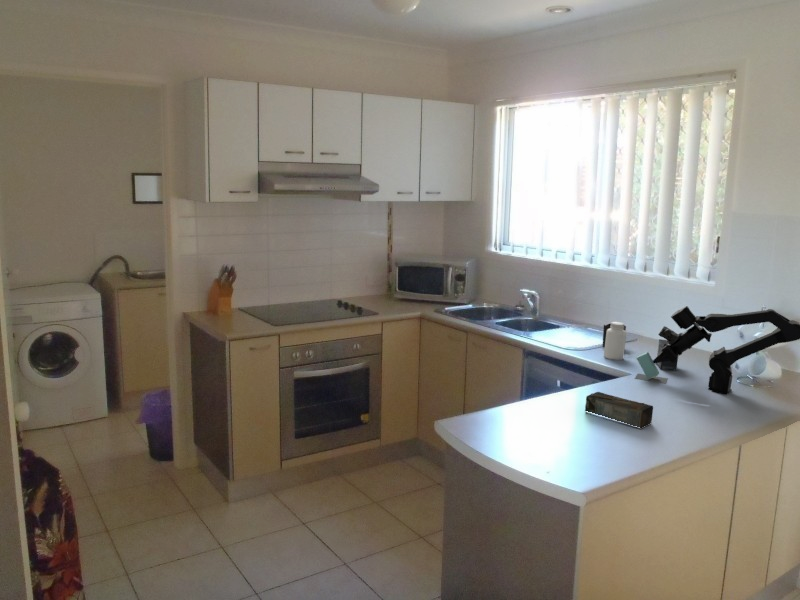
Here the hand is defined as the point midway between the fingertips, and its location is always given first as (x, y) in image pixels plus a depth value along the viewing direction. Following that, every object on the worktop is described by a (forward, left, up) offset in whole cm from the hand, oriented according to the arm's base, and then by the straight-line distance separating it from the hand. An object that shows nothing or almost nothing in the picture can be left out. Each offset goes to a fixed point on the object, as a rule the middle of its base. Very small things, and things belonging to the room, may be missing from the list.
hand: (653, 362), depth 249 cm
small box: (+3, -21, -7) cm, 22 cm away
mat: (0, 0, -7) cm, 7 cm away
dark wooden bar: (-9, +49, -7) cm, 50 cm away
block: (-1, 0, -5) cm, 5 cm away
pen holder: (+32, -34, -7) cm, 47 cm away
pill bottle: (+24, -18, -7) cm, 30 cm away
